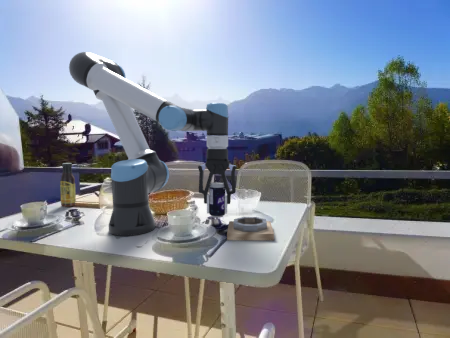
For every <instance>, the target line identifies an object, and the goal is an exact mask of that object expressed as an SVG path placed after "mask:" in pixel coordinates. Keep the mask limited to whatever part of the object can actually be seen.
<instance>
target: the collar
mask: <svg viewBox="0 0 450 338" xmlns="http://www.w3.org/2000/svg"><path fill="white" fill-rule="evenodd" d="M233 221H234V229H235V230H238V231H242V232H259V231H262V230H265V229H267V222H266V221H267V219H266V218H262V217H258V216H243V217H242V216H241V217H238V218H235V219H233Z"/></svg>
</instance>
